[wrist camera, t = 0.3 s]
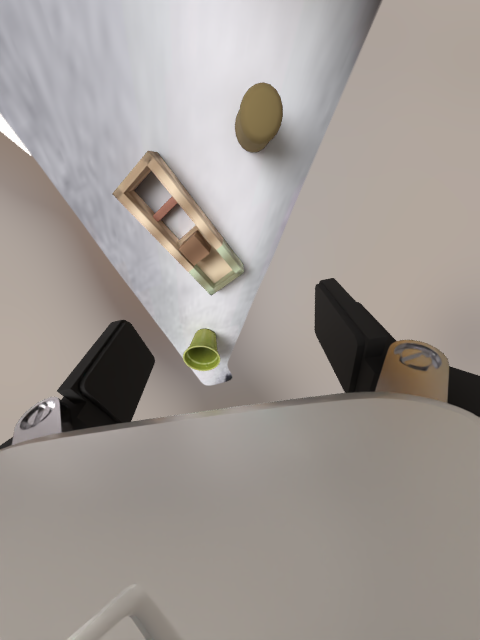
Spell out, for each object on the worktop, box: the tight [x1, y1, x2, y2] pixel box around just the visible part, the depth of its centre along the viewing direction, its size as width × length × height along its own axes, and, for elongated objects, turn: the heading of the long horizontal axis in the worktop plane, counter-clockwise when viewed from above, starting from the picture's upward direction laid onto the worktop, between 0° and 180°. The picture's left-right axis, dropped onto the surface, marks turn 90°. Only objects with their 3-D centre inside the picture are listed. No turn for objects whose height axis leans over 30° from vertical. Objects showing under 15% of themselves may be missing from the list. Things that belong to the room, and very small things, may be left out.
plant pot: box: [183, 329, 220, 371], centre depth 55 cm, size 9×9×9 cm
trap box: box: [113, 151, 244, 295], centre depth 39 cm, size 24×9×4 cm, turn 37°
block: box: [179, 230, 211, 265], centre depth 39 cm, size 4×4×4 cm
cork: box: [235, 83, 283, 152], centre depth 27 cm, size 6×6×11 cm
